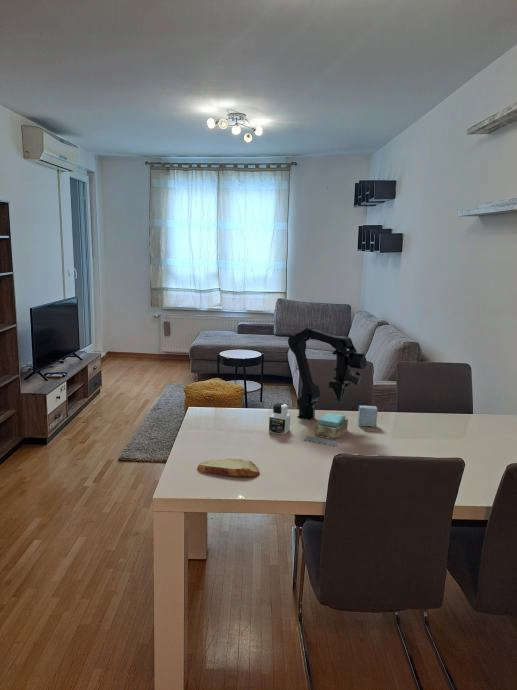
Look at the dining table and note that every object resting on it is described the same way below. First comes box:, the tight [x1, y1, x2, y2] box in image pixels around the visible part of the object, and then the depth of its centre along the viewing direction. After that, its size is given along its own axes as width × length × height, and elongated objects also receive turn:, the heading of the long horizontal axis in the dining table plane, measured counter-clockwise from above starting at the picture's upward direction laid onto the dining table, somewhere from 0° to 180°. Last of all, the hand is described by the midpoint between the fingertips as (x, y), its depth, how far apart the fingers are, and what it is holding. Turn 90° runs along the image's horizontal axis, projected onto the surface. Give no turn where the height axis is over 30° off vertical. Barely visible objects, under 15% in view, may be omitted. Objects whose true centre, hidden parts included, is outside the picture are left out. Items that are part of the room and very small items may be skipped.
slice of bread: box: [196, 458, 261, 478], centre depth 182 cm, size 18×18×4 cm
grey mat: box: [303, 435, 341, 447], centre depth 214 cm, size 14×5×1 cm, turn 65°
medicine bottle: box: [268, 402, 291, 435], centre depth 224 cm, size 7×7×12 cm
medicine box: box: [357, 405, 378, 428], centre depth 236 cm, size 8×4×9 cm, turn 84°
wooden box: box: [314, 418, 349, 440], centre depth 225 cm, size 10×14×5 cm
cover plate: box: [318, 412, 346, 428], centre depth 225 cm, size 8×11×2 cm
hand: (340, 400), depth 233 cm, fingers open, 3 cm apart
